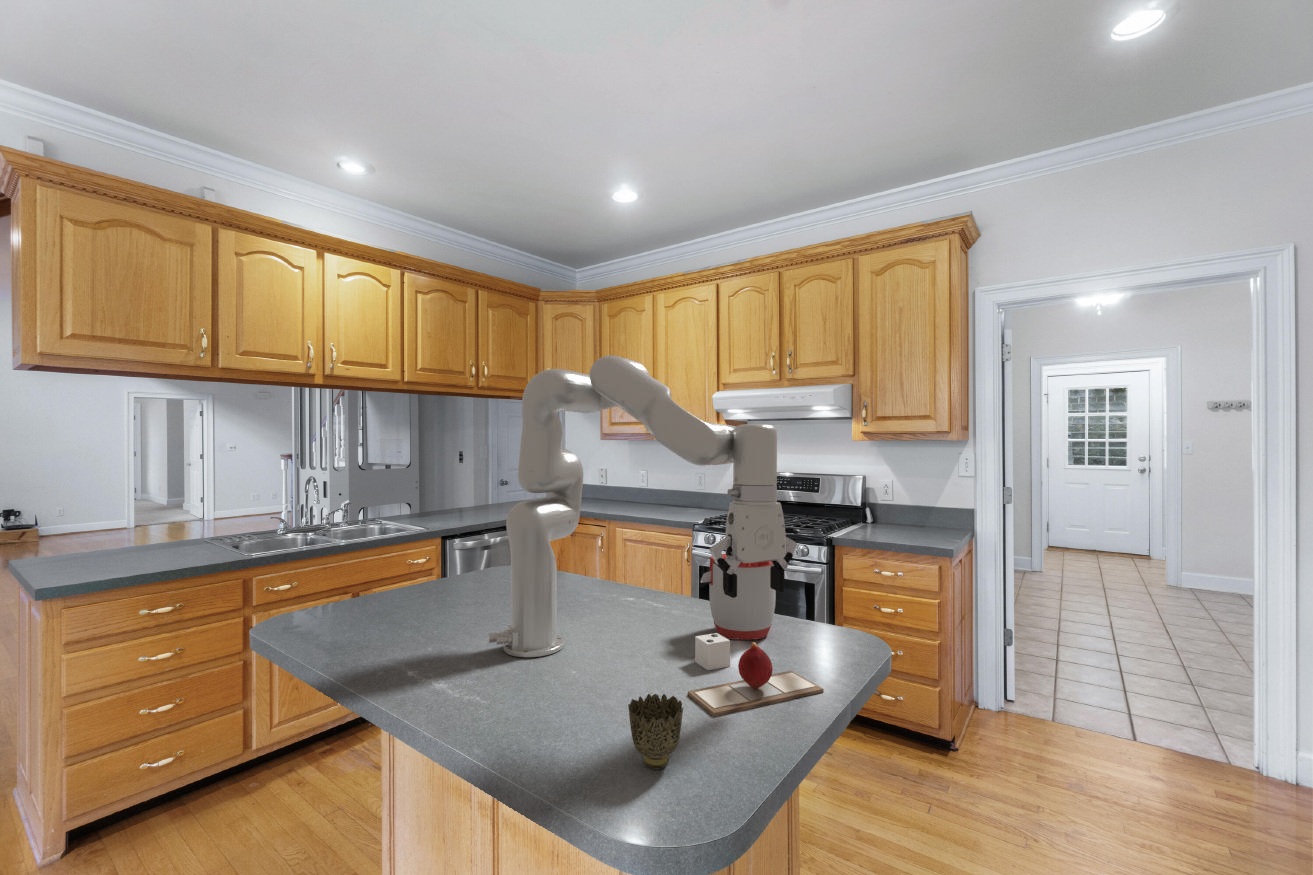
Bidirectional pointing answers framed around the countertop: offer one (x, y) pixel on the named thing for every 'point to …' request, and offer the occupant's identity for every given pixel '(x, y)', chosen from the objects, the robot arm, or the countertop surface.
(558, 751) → the countertop surface
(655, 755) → the cup
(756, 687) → the onion
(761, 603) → the citrus juicer
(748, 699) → the brown flat rectangular frame
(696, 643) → the die
